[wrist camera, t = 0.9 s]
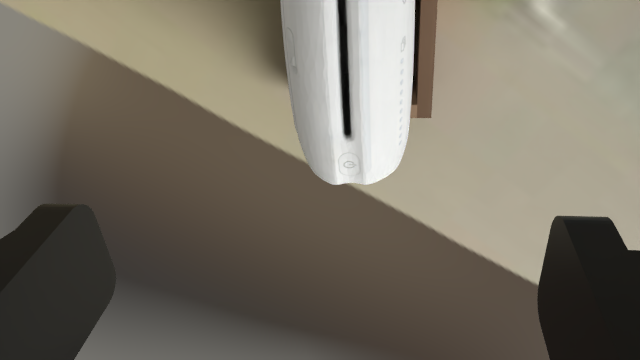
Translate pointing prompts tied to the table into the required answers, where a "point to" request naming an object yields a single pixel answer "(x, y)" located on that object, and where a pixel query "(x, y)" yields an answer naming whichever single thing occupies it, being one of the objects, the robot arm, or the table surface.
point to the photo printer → (350, 84)
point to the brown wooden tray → (424, 60)
